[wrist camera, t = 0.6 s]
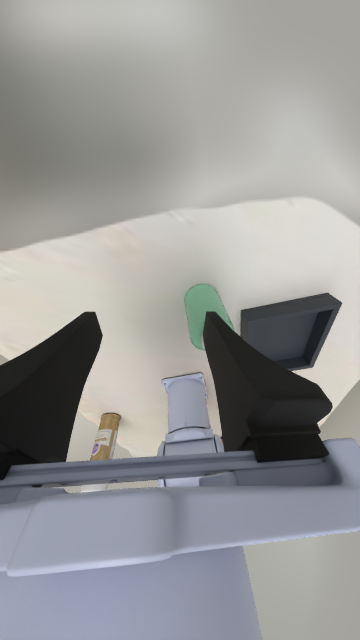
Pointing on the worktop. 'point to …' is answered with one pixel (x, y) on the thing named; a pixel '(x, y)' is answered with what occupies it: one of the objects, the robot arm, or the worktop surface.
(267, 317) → the dark gray rectangular tray
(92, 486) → the sprinkles bottle
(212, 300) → the mint green cylinder
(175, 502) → the robot arm
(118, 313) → the worktop surface
